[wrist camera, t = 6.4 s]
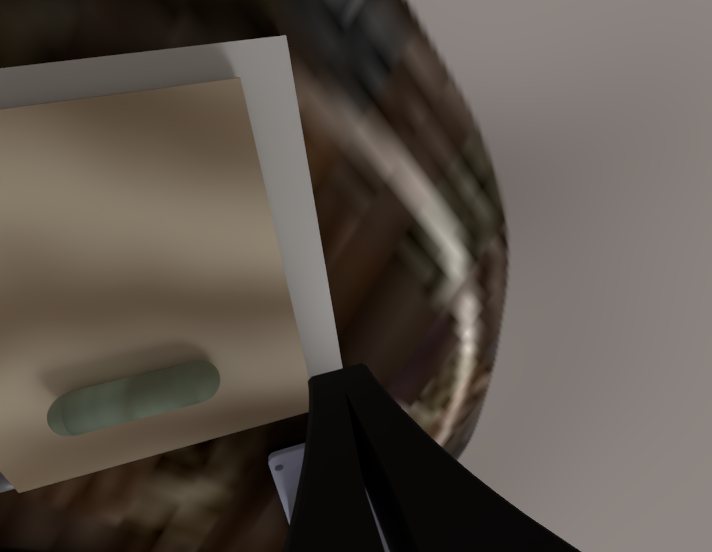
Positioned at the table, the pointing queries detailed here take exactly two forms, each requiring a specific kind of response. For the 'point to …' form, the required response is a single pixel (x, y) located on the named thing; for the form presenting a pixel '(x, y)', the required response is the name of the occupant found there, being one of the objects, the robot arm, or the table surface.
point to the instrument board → (137, 282)
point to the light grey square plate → (272, 138)
